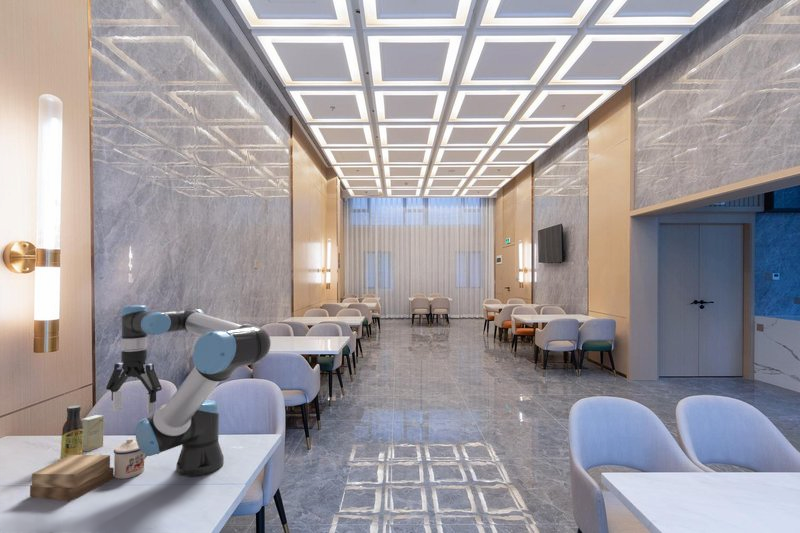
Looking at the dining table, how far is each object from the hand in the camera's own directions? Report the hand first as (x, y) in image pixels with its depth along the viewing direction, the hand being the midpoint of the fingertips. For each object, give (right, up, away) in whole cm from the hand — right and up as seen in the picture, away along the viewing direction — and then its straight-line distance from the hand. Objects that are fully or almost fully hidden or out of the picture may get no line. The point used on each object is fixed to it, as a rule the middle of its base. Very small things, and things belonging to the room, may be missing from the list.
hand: (133, 411), depth 147 cm
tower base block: (-12, -21, -11) cm, 27 cm away
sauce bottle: (-28, -21, +8) cm, 36 cm away
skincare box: (-29, -22, +20) cm, 42 cm away
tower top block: (-12, -17, -12) cm, 24 cm away
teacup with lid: (0, -21, -1) cm, 21 cm away
